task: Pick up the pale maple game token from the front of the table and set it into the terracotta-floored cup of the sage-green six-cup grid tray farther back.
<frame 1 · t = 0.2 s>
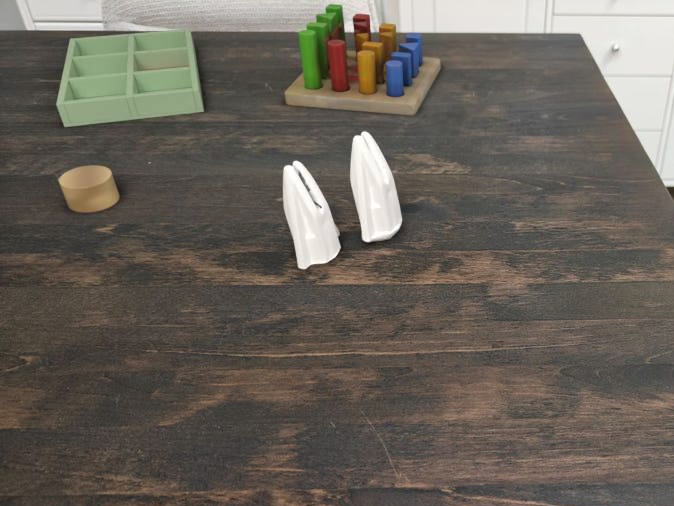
grid: (136, 85, 101), on the table
token: (94, 202, 78), on the table
shaker set: (352, 247, 73), on the table
peg board: (367, 88, 103), on the table
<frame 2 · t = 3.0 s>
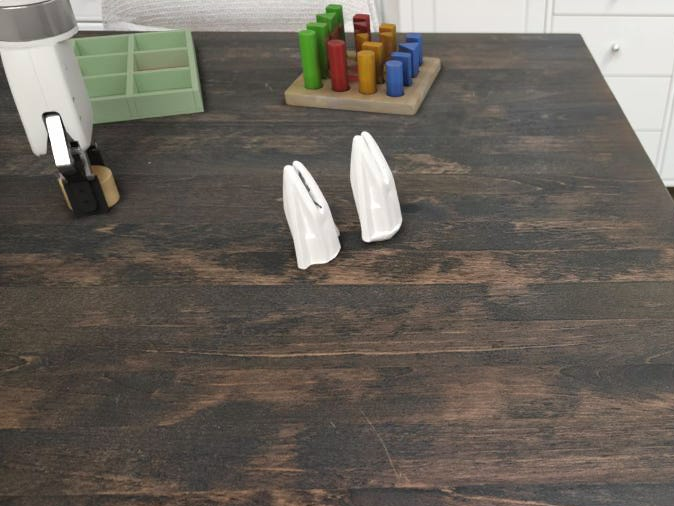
hand: (93, 198, 78), 0 cm above the table, tool pointing down, fingers closed on token, 5 cm apart
token: (94, 202, 78), on the table, touching gripper
everything else where it was.
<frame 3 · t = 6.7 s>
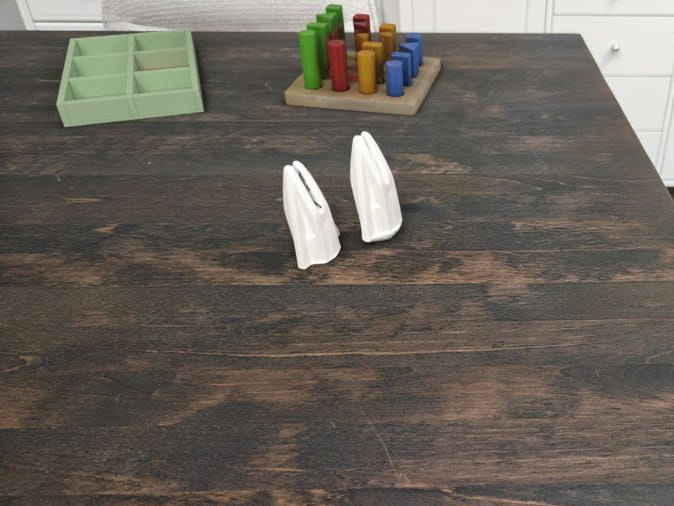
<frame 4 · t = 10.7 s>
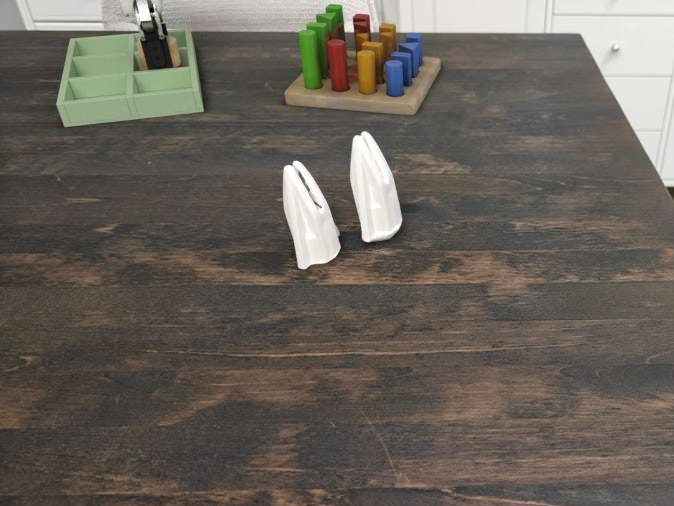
hand: (160, 60, 100), 3 cm above the table, tool pointing down, fingers closed on token, 5 cm apart
token: (161, 64, 101), point 3 cm above the table, touching gripper
everything else where it was.
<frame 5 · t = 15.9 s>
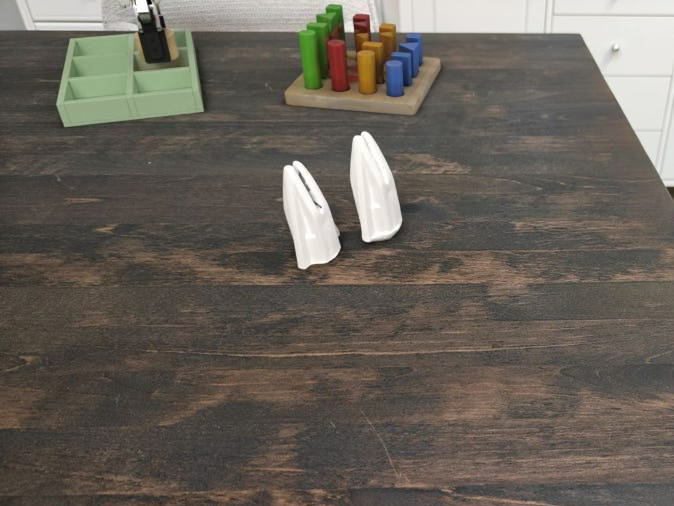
hand: (158, 53, 100), 4 cm above the table, tool pointing down, fingers closed on token, 4 cm apart
token: (159, 56, 100), point 4 cm above the table, touching gripper
everything else where it was.
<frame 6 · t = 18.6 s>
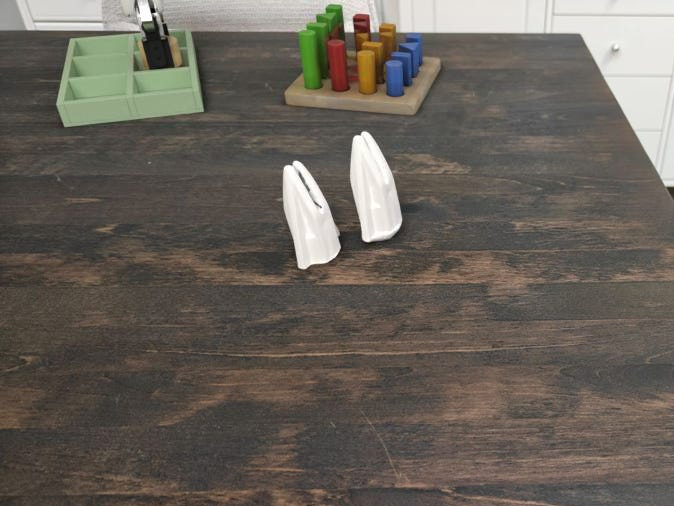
hand: (161, 60, 100), 3 cm above the table, tool pointing down, fingers closed on token, 5 cm apart
token: (163, 64, 101), point 2 cm above the table, touching gripper
everything else where it was.
when the fingers open (5 cm above the table, at t = 20.9 s): token drops 3 cm, resting on grid.
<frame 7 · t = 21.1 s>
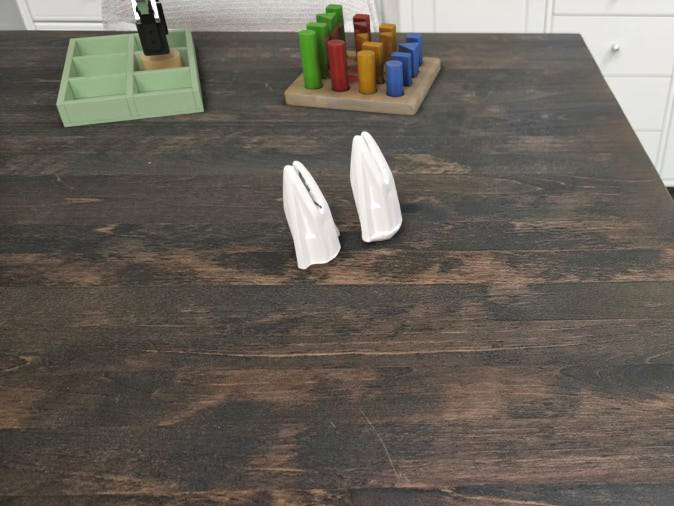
hand: (156, 43, 99), 5 cm above the table, tool pointing down, fingers open, 7 cm apart
token: (165, 76, 102), point 1 cm above the table, touching grid
everything else where it was.
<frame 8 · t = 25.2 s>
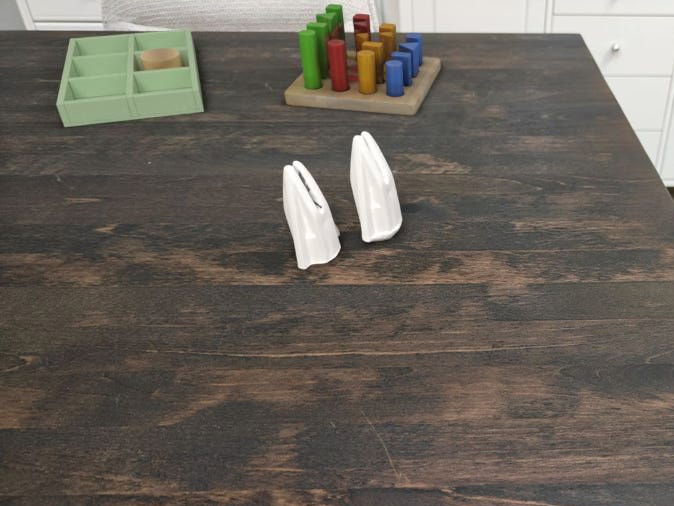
nothing on the table moved.
at the end: token 0.0 cm from the target spot in the grid, point 0.8 cm above the grid's base; token tilted 0°; the gripper is holding nothing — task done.
